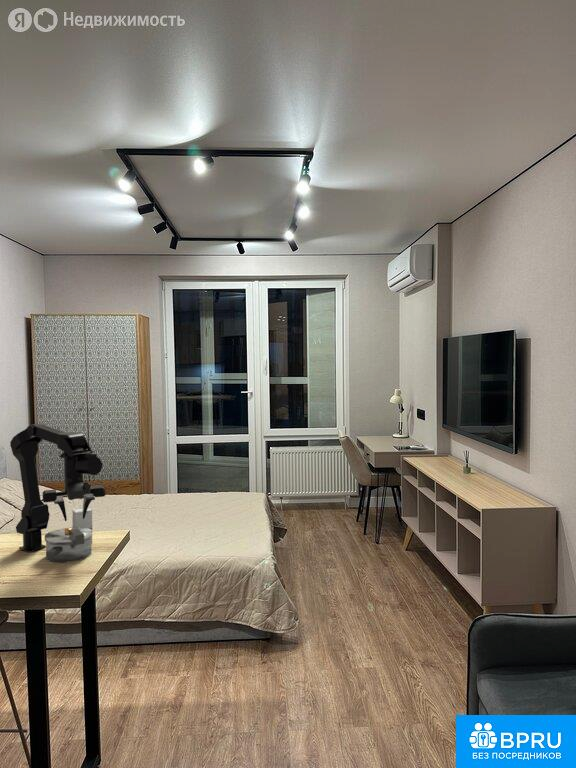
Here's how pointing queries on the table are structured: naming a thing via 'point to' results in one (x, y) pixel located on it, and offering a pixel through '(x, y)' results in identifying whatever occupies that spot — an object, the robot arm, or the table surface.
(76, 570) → the table surface
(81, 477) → the robot arm
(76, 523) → the skincare box
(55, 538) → the lid
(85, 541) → the pot
